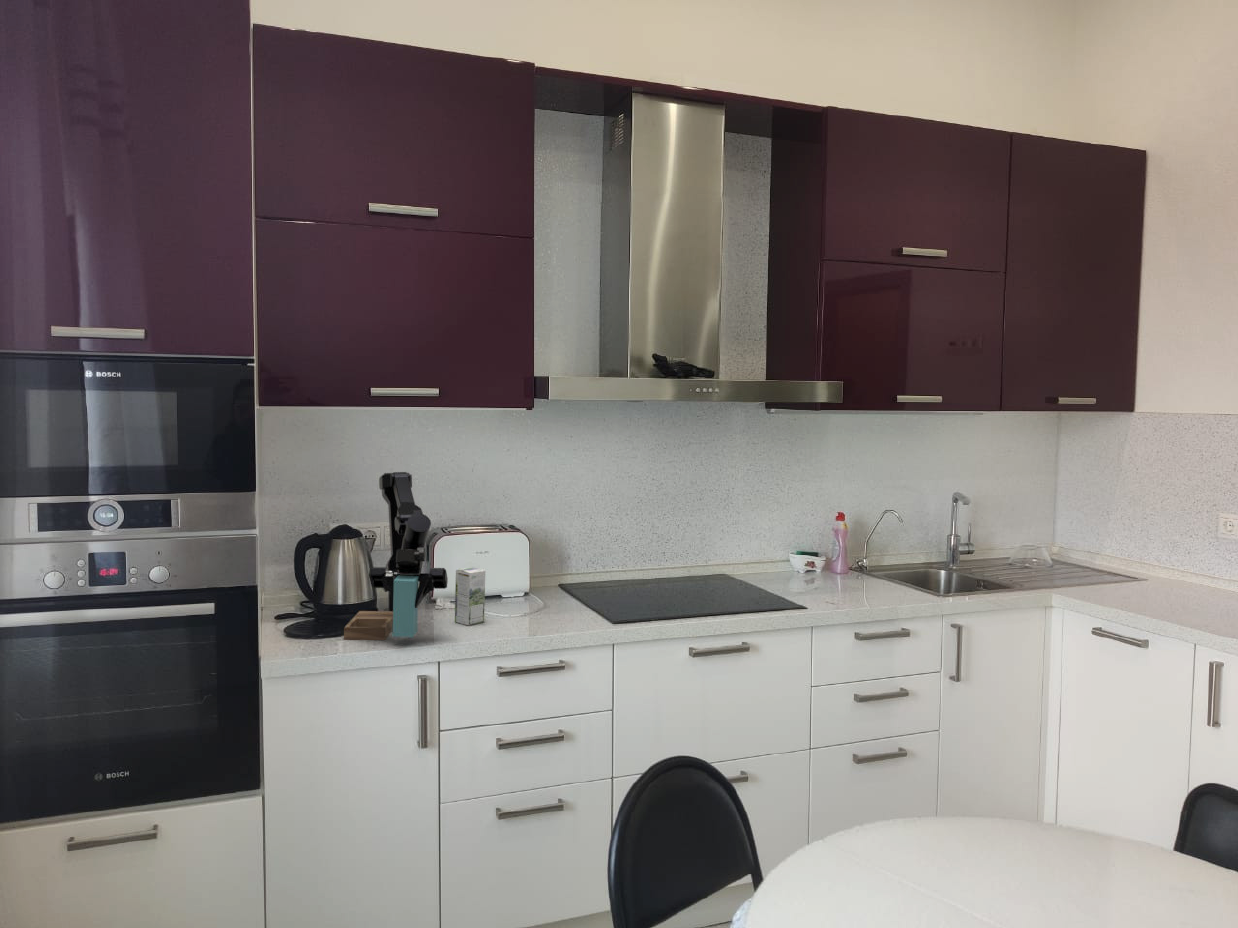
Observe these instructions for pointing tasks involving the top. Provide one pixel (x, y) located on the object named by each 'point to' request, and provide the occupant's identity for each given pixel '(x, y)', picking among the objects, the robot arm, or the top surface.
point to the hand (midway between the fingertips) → (404, 607)
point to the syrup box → (470, 596)
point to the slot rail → (369, 626)
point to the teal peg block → (405, 606)
